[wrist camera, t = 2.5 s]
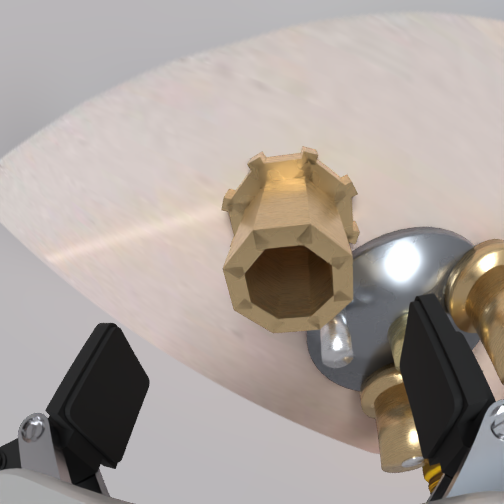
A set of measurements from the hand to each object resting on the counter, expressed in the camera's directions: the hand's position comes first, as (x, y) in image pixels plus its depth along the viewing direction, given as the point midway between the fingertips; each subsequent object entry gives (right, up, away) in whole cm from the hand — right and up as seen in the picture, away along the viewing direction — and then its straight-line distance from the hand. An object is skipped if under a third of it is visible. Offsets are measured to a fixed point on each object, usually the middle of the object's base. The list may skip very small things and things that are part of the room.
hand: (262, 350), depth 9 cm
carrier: (+13, -3, +13) cm, 19 cm away
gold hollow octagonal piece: (+2, +6, +10) cm, 12 cm away
